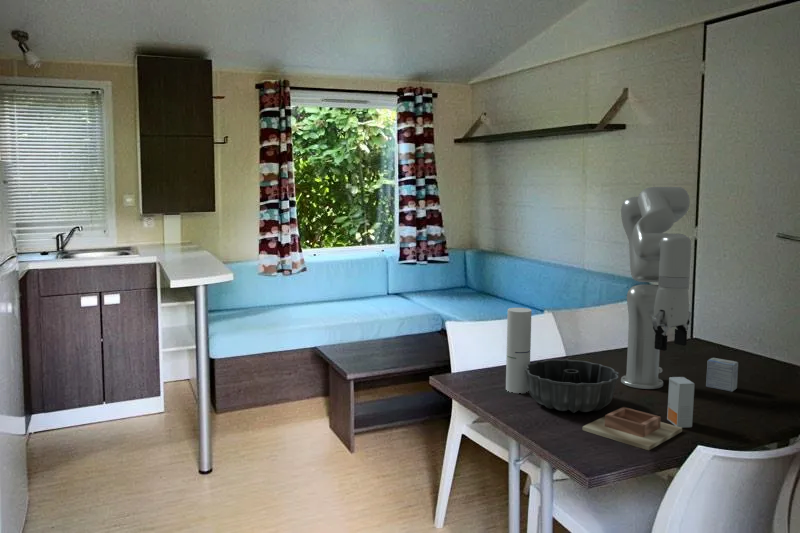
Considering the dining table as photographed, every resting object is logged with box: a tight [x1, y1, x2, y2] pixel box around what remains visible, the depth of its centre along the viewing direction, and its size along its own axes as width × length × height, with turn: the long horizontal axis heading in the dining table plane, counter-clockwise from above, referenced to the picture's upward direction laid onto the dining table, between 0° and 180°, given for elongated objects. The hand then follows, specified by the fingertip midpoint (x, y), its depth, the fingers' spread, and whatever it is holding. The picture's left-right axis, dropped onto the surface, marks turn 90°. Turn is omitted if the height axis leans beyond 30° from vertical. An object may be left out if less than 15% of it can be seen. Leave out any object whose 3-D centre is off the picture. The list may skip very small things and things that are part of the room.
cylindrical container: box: [505, 307, 533, 394], centre depth 208 cm, size 7×7×25 cm
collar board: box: [582, 406, 683, 451], centre depth 176 cm, size 18×18×4 cm
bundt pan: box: [524, 358, 620, 414], centre depth 197 cm, size 26×26×10 cm
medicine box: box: [705, 357, 739, 392], centre depth 211 cm, size 8×4×9 cm, turn 47°
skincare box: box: [666, 376, 695, 429], centre depth 180 cm, size 6×4×12 cm
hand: (670, 347), depth 180 cm, fingers open, 9 cm apart
